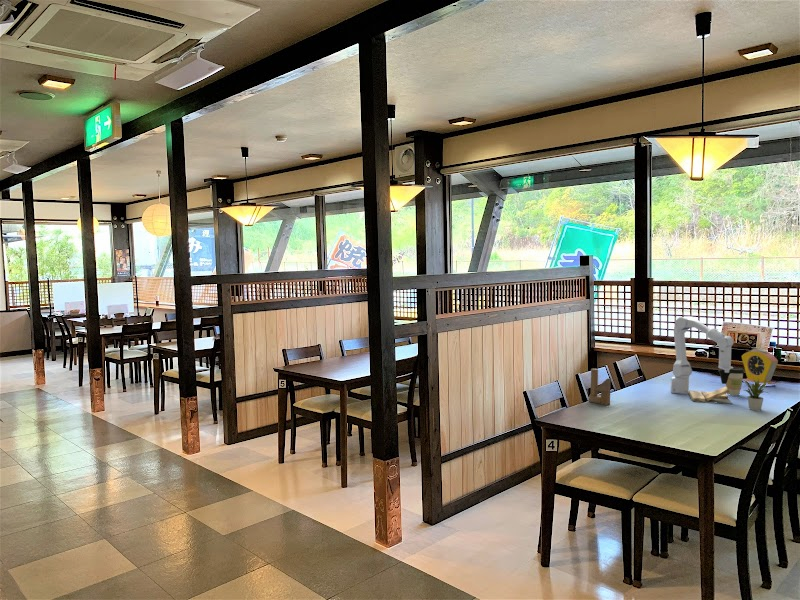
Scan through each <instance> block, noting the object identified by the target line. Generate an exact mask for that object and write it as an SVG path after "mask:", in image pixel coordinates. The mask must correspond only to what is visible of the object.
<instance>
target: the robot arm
mask: <svg viewBox="0 0 800 600" xmlns="http://www.w3.org/2000/svg"><path fill="white" fill-rule="evenodd" d="M674 324H675V325H674V328H673V338H674V349H675V350H674V351H675V358H676V360H675V362H674V363H673V365H672V366H673V367H672V374H673V376H671V377H670V391H671V393H672V394H682V393H684V395H689V389H690V385H689V384H690V375H692V373H693V369H692V367H691V363H690V361H688V358H687V346H686V336H685V333H686V332H687V331H688V330H690V329H692V328H695V329H697V330H699V331H700V332H702V333H704V334H706V336H707V338H708V339H709V340H711V341H713V342H715V343H716V344H717V346H718V370H717V371H718V373H719V376H720V381H721V384H722V385H724V384H725V385H726V384H727V380H728V377H729V375H730V373H731V371H730V369H733V366H731V364H732V346H733V345H734V343H735V341H734V339H733V337H732V336H730V335H726V334H725V333H722V332H720V331H719V330H718V329H717V328H710V327H708V326H707V325H705V324H704V323H703V322H701V321H699V320H698V318H695V317H694V316H691V315H690V316H683V317H682V316H680V317H678V318H677V319H675V320H674Z"/></svg>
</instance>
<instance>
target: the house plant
mask: <svg viewBox="0 0 800 600" xmlns="http://www.w3.org/2000/svg"><path fill="white" fill-rule="evenodd" d="M753 379H754V378H753ZM744 381H745V380H744ZM745 382H746V383H744V384H745V385H746V386H747V389H744V390H743V391H745V392H747V393H748V394H749V396H747V402H748V404H747V405H748V409H749V408H750V409H753V410H752V411H754V410H760V411H762V406H763V402H764V397H763V396H762V397H761V396H760V395H761V394H763V393H764V394H765V393H768V394H770V393H771V392H769V391H766V392H764V390H765V388H767V387H766V386H765V385H766V383H768V382H766V383H764V384H763V385H762V386H760V385H761V384H759V379H758V380H757V381H756V382H755V380H754V382H755V385H754V384H749V383H748V382H747V381H745ZM773 383H774V382H772V383H768V384H773ZM764 386H765V387H764ZM764 394H763V395H764ZM750 409H749V410H750Z"/></svg>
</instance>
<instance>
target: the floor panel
mask: <svg viewBox="0 0 800 600" xmlns="http://www.w3.org/2000/svg"><path fill="white" fill-rule="evenodd" d="M710 392H711V391H702V390H689V394H688V395H689V397H690V396H691V397H690V398H692V399H691V401H692V402H694V401H702V402H701V403H708V402H717V403H716V404H723V403H731V404H730V405H733V402H732V401H731V399H730V398H729V395H727V393H726V394H724V395H721V396H719V397H716V398H714V399H711V400H709V401H707V400H706V398H705V396H704V395H705V394H708V393H710ZM728 398H729V399H728Z"/></svg>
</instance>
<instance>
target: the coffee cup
mask: <svg viewBox="0 0 800 600" xmlns="http://www.w3.org/2000/svg"><path fill="white" fill-rule="evenodd" d="M732 367H733V366H732ZM730 371H731V373H730V375H729V377H728V380H727V384H725V386H726V387H727V388H728V390H729V391H730V392H729V393H726V395H727V394H730V395H729V396H731V395H739V394H740V393H741V390H742V383H743V382H742V379H744V378H743V377H744V374H745V371H744V369H743V368H741V367H733V369H730Z"/></svg>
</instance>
